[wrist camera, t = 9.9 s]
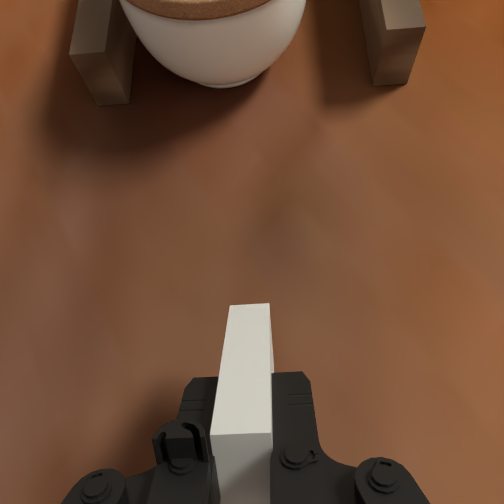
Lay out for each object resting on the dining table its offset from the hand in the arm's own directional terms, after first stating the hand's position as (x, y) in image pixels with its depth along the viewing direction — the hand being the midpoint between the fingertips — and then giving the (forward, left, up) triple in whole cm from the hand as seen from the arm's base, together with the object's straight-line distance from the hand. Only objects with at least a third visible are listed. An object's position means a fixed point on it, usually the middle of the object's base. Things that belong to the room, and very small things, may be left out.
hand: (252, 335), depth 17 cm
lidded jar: (-2, +19, -4) cm, 20 cm away
